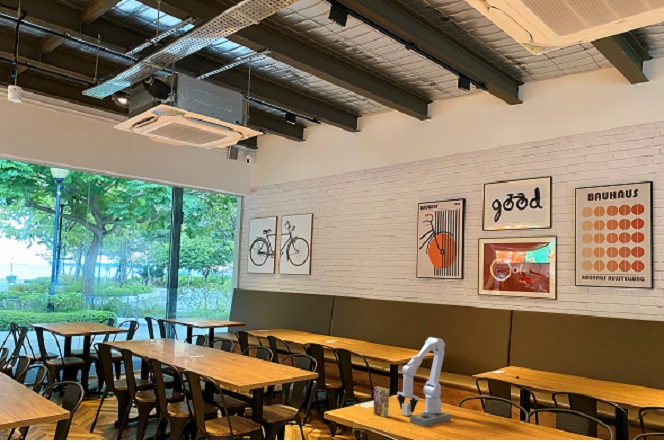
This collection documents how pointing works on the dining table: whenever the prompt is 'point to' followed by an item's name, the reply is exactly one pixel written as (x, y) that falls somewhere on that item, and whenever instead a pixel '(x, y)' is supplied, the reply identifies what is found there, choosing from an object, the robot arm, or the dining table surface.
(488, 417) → the dining table surface
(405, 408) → the plug
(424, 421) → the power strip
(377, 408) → the candy box
